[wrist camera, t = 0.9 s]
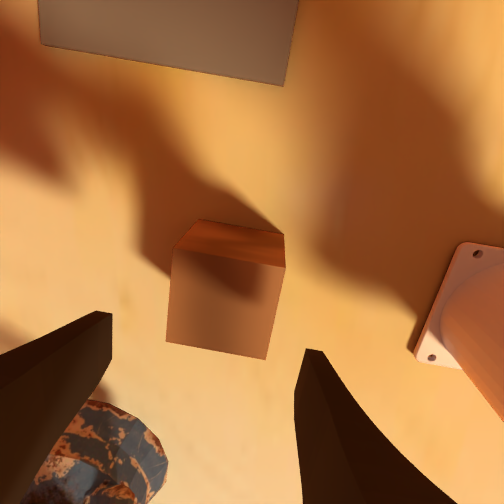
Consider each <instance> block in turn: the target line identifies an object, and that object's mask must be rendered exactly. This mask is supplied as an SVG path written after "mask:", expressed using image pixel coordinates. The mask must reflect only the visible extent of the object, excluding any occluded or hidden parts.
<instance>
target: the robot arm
mask: <svg viewBox="0 0 504 504" xmlns="http://www.w3.org/2000/svg"><path fill="white" fill-rule="evenodd" d="M476 250H479V253H478V254H477V255H476V256H473V253H474V252H475V251H476ZM413 354H414V357H415V359H416V360H417V361H418V362H422V363H427V364H433V365H438V366H444V367H449V368H455V369H460V370H463V371H464V372H465V373H466V374H467V376H468V377H469V378H470V380H471V381H472V382H473V383H474V385H475V386H476V387H477V389H478V390H479V391H480V392H481V394H482V395H483V396H484V398H485V399H486V400H487V401H488V403H489V404H490V405H491V407H492V408H493V409H494V411H495V412H496V413H497V414H498V416H499V417H500V418H501V420H502V421H503V422H504V248H499V247H494V246H488V245H482V244H477V243H471V242H464V243H461V244H460V245H459V246H458V247H457V249H456V251H455V254H454V256H453V258H452V261H451V263H450V266H449V268H448V270H447V273H446V275H445V278H444V280H443V282H442V285H441V287H440V290H439V292H438V294H437V297H436V299H435V302H434V304H433V306H432V309H431V311H430V314H429V316H428V318H427V321H426V323H425V326H424V328H423V331H422V333H421V335H420V338H419V340H418V343H417V345H416V347H415V350H414V353H413ZM431 354H433V356H431V357H428V356H429V355H431ZM111 360H112V313H106V312H101V311H94V312H92V313H90V314H88V315H85V316H83V317H81V318H79V319H77V320H75V321H73V322H71V323H69V324H67V325H65V326H63V327H61V328H59V329H57V330H55V331H53V332H51V333H49V334H46V335H44V336H42V337H40V338H38V339H36V340H33V341H31V342H29V343H27V344H24V345H22V346H20V347H18V348H15V349H13V350H11V351H8V352H6V353H3V354H1V355H0V504H20V502H21V500H22V499H23V497H24V495H25V493H26V492H27V490H28V488H29V486H30V485H31V483H32V481H33V480H34V478H35V476H36V474H37V473H38V471H39V469H40V468H41V466H42V464H43V463H44V461H45V459H46V458H47V456H48V454H49V453H50V451H51V450H52V448H53V447H54V445H55V444H56V442H57V441H58V439H59V438H60V437H61V435H62V434H63V432H64V431H65V430H66V428H67V427H68V426H69V424H70V423H71V421H72V420H73V419H74V417H75V416H76V415H77V413H78V412H79V410H80V409H81V408H82V406H83V405H84V403H85V402H86V401H87V399H88V398H89V396H90V395H91V394H92V392H93V391H94V389H95V388H96V387H97V385H98V384H99V382H100V380H101V378H102V377H103V375H104V373H105V371H106V369H107V367H108V365H109V364H110V362H111ZM294 421H295V431H296V440H297V449H298V457H299V466H300V475H301V483H302V496H303V504H457V503H456V502H455V501H454V500H452V499H451V498H450V497H449V496H448V495H446V494H445V493H444V492H443V491H442V490H440V489H439V488H438V487H437V486H436V485H435V484H433V483H432V482H431V481H430V480H429V479H428V478H427V477H426V476H424V475H423V474H422V473H421V472H420V471H419V470H418V469H417V468H416V467H415V466H414V465H413V464H412V463H411V462H410V461H409V460H408V459H407V458H406V457H404V456H403V455H402V454H401V453H400V452H399V451H398V449H397V448H396V447H395V446H394V445H393V444H392V443H391V442H390V441H389V440H388V439H387V438H386V437H385V436H384V434H383V433H382V432H381V431H380V430H379V429H378V428H377V427H376V425H375V424H374V423H373V422H372V421H371V420H370V418H369V417H368V416H367V415H366V413H365V412H364V411H363V410H362V408H361V407H360V406H359V404H358V403H357V402H356V400H355V399H354V398H353V396H352V395H351V393H350V392H349V391H348V389H347V388H346V386H345V385H344V383H343V382H342V380H341V379H340V377H339V376H338V374H337V373H336V371H335V370H334V368H333V367H332V365H331V364H330V362H329V360H328V359H327V357H326V356H325V354H324V353H323V351H318V350H313V349H307V348H306V350H305V354H304V358H303V361H302V365H301V369H300V372H299V376H298V380H297V384H296V387H295V391H294Z"/></svg>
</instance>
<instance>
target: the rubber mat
mask: <svg viewBox="0 0 504 504" xmlns="http://www.w3.org/2000/svg"><path fill="white" fill-rule="evenodd" d="M298 2H299V0H38V5H39V21H40V37H41V44H43V45H46V46H51V47H57V48H63V49H68V50H74V51H80V52H86V53H92V54H97V55H103V56H109V57H115V58H121V59H126V60H132V61H138V62H144V63H150V64H155V65H161V66H167V67H173V68H179V69H184V70H190V71H196V72H202V73H208V74H213V75H219V76H225V77H231V78H237V79H242V80H248V81H254V82H260V83H266V84H271V85H277V86H283V87H284V81H285V76H286V70H287V64H288V59H289V53H290V47H291V42H292V36H293V30H294V25H295V19H296V13H297V8H298Z"/></svg>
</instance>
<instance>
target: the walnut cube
mask: <svg viewBox="0 0 504 504" xmlns="http://www.w3.org/2000/svg"><path fill="white" fill-rule="evenodd" d="M285 269H286V264H285V246H284V234H279V233H274V232H268V231H263V230H257V229H251V228H246V227H240V226H235V225H229V224H223V223H218V222H212V221H207V220H201V219H198V221H197V222H196V223H195V224H194V225H193V226H192V227H191V228H190V230H189V231H188V232H187V233H186V234H185V235H184V236H183V237H182V238H181V240H180V241H179V242H178V243H177V244H176V245H175V246H174V247H173V256H172V268H171V281H170V293H169V306H168V318H167V330H166V342H170V343H176V344H181V345H187V346H192V347H197V348H203V349H208V350H214V351H219V352H225V353H230V354H235V355H241V356H246V357H252V358H257V359H262V360H266V356H267V351H268V347H269V342H270V337H271V333H272V328H273V324H274V319H275V315H276V310H277V306H278V301H279V296H280V292H281V287H282V283H283V278H284V274H285Z"/></svg>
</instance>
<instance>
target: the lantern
mask: <svg viewBox="0 0 504 504" xmlns="http://www.w3.org/2000/svg"><path fill="white" fill-rule="evenodd" d="M167 468H168V460H167V457H166V455H165V453H164V450H163V448H162V446H161V443H160V441H159V439H158V438H157V437H156V436H155V435H154V434H153V433H152V432H151V431H150V430H149V429H148V428H147V427H146V426H145V425H144V424H143V423H142V422H141V421H140V420H139V419H138V418H136V417H134V416H132V415H130V414H128V413H126V412H124V411H122V410H120V409H118V408H116V407H114V406H113V405H111V404H108V403H103V402H97V401H92V400H87V401H86V402H85V403H84V405H83V406H82V408H81V409H80V410H79V412H78V413H77V415H76V416H75V417H74V419H73V420H72V421H71V423H70V424H69V426H68V427H67V428H66V430H65V431H64V432H63V434H62V435H61V437H60V438H59V439H58V441H57V442H56V444H55V445H54V447H53V448H52V450H51V451H50V453H49V454H48V456H47V458H46V459H45V461H44V463H43V464H42V466H41V468H40V469H39V471H38V473H37V474H36V476H35V478H34V480H33V481H32V483H31V485H30V486H29V488H28V490H27V492H26V493H25V495H24V497H23V499H22V500H21V502H20V504H147V503H148V502H149V501H150V500H151V499H152V498H153V497H154V496H155V494H156V493H157V492H158V491H159V490H160V488H161V487H162V486H163V485H164V483H165V482H166V476H167Z"/></svg>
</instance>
